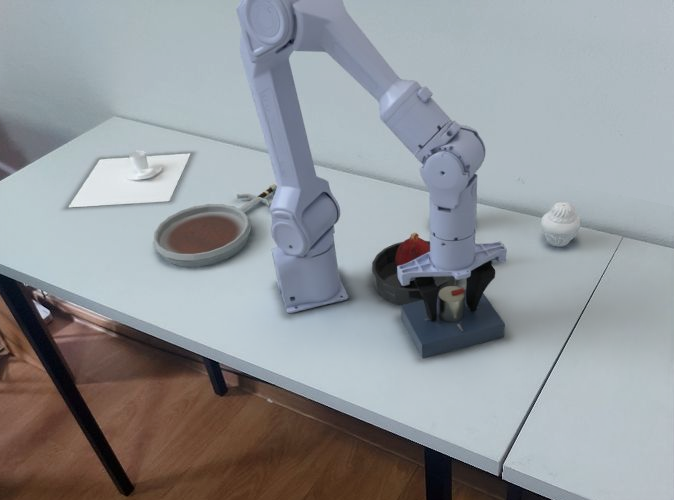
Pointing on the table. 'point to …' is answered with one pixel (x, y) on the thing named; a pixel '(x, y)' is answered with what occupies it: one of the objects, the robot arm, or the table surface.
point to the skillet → (390, 284)
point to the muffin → (560, 224)
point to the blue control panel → (451, 327)
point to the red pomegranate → (411, 249)
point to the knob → (451, 303)
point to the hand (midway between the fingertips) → (451, 312)
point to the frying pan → (206, 232)
